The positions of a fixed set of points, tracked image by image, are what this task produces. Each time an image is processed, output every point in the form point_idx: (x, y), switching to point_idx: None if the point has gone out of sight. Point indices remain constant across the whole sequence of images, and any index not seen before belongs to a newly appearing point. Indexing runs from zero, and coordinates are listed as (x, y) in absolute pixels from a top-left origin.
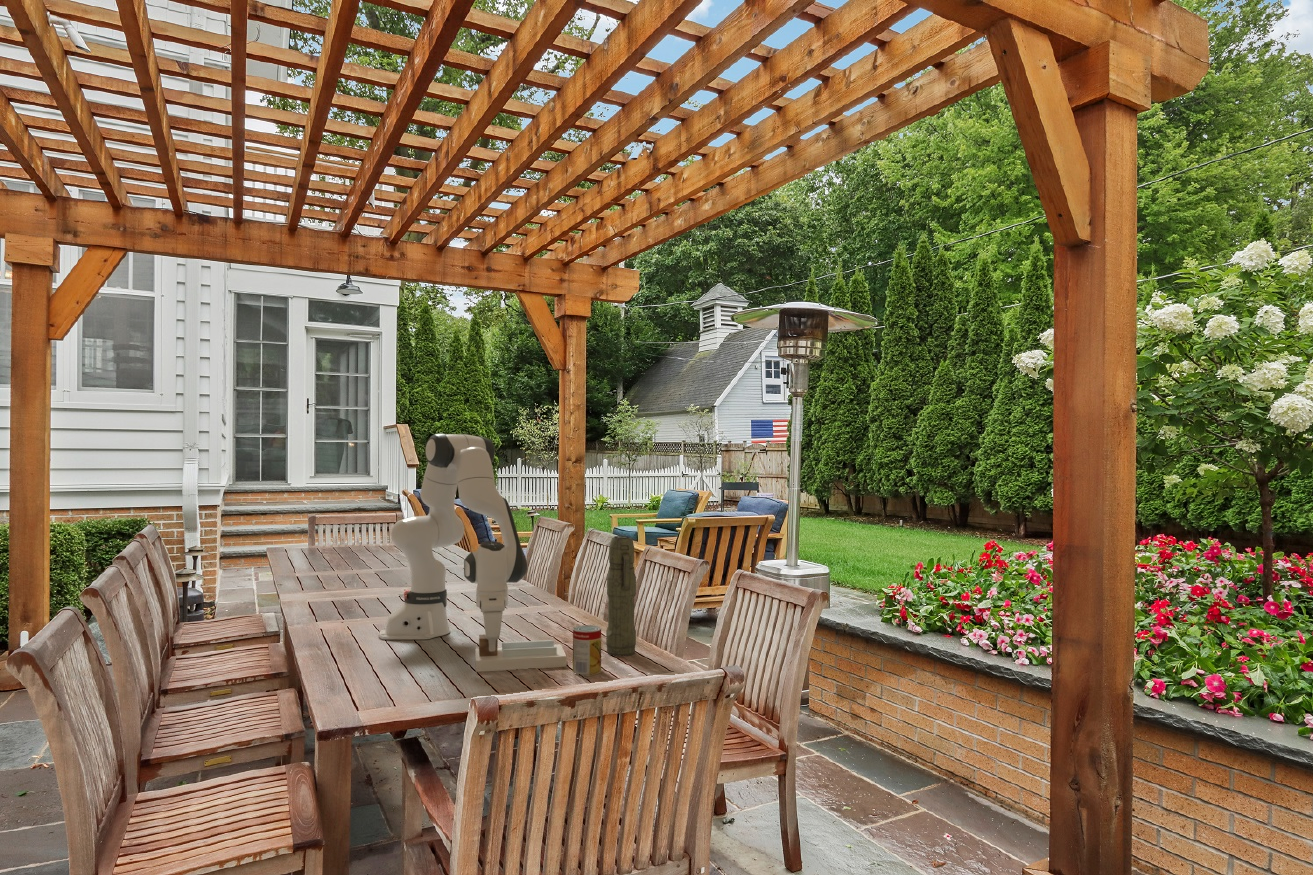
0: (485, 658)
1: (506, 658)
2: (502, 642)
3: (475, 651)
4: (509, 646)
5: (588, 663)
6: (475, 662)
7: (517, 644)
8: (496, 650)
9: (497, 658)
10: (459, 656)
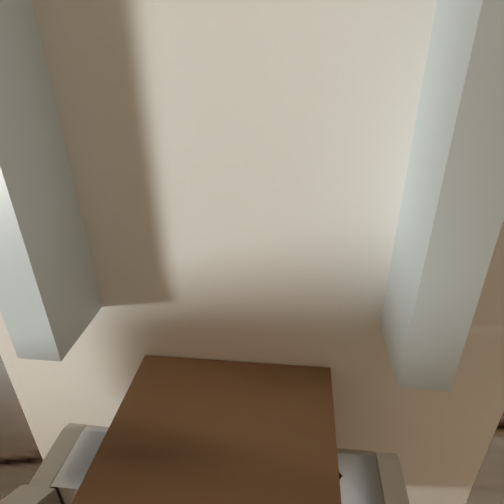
0: (402, 457)
1: (501, 299)
2: (21, 351)
3: None
4: (63, 249)
5: None
6: None
7: (20, 147)
8: (333, 421)
9: (454, 378)
10: (35, 463)
